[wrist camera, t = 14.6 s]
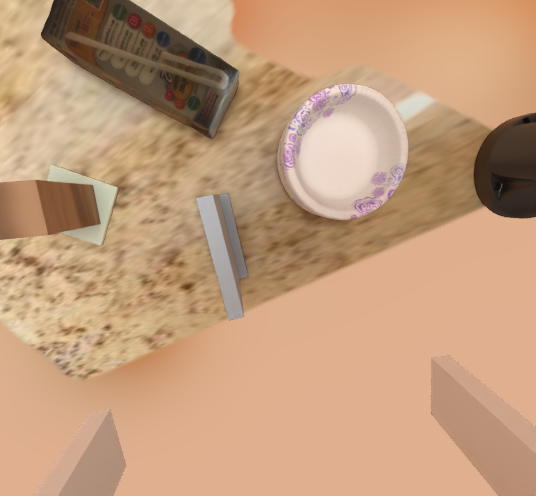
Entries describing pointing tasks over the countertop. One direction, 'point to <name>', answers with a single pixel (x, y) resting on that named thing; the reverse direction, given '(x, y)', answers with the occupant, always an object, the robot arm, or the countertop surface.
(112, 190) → the sage tile
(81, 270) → the countertop surface
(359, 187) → the paper bowls
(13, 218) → the brown tall rectangular block
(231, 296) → the slate panel
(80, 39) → the beverage carton
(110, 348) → the countertop surface
